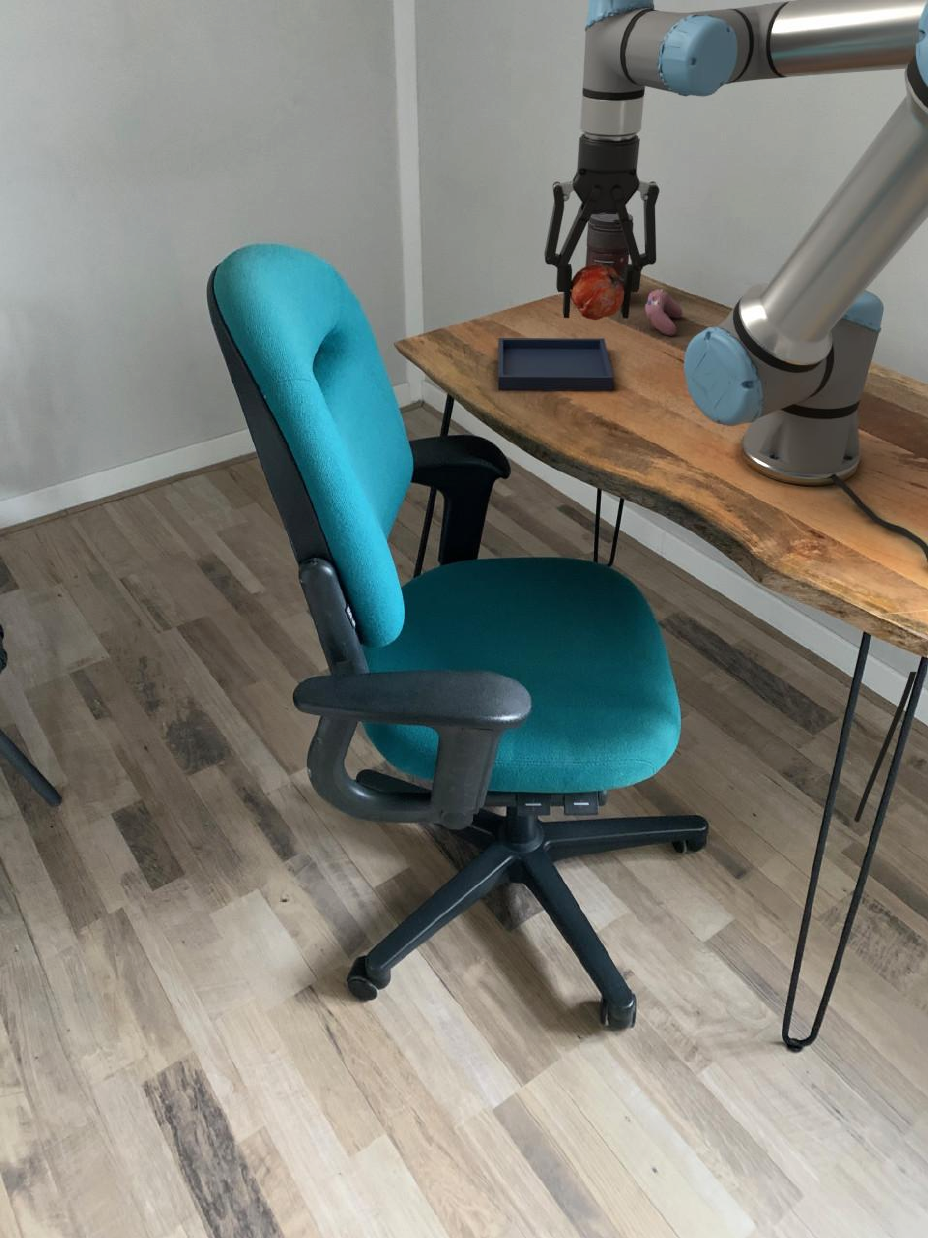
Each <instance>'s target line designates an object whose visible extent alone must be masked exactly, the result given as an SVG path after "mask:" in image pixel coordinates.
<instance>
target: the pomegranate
mask: <svg viewBox="0 0 928 1238" xmlns="http://www.w3.org/2000/svg"><path fill="white" fill-rule="evenodd" d="M620 281H625V280H624V279H623V278H622V277H621V276H619V275H618V273H617V272H616V271H615V270H614V269H613V268H610V267H604V266H602V265H600V264H591V265H587V266H586V265H585V266H583V267H582V268H580V269H579V270H578V271H576V273H575V274H574V276H572V283H571V299H570V300H571V301H572V302H573V304H574V306H573V309H576V308H577V310H578V311H579V312H580V315H581V316H582V317H583V318H585V319H587V320H592V321H598V320H600V319H601V320H602V319H604V318H606V317H607V318H608V317H610V316H614V315H615V314H616V313H617V312H618V311H619V310H621V306H622V304H623V302H624V294H625V292H624V287H623V285H622V284H621V282H620Z"/></svg>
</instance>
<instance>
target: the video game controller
mask: <svg viewBox="0 0 928 1238" xmlns="http://www.w3.org/2000/svg"><path fill="white" fill-rule="evenodd" d="M644 311H645V314H646V318H647V319H648V322H649V323H650V324H652V326H653V327H654V329H655V330H658V331H659V332H660V333H662V334H664V335H665V336H670V337H672V336H674V335H675V334H676V332H677V326H676V324H675V323H674V321H672V320H671V319H670V318H673V319H680V318H682V316H683V309H682V307H681V306H680V305H679V304H678V302H676V300H674V299H673V298H672V297H671V295H670V293H668V292H667V290H665V289H664V288H662V289H661V290H660V289H655V290H652V291H651V292H650V293H649V294H648V297H647V303H646V304H645V305H644ZM669 317H670V318H669Z"/></svg>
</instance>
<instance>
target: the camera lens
mask: <svg viewBox="0 0 928 1238" xmlns="http://www.w3.org/2000/svg"><path fill="white" fill-rule="evenodd" d="M628 216H629V219H630V223H631V226H632V230H633V231H634V225H635V223H634V216H633V215H632V214H630V213H628ZM585 255H586V256H585V266H587V265H591V264H600V265H602V266H604V267H610V268H613V269H614V270H615V271H616V272H617V273H618V275H619V276H621V277H622V278H623V279H624V273H625V264H630V255H629V251H628V248H627V245H626V241H625V238H624V234H623V231H622V228H621V224H620V221H619V217H618V214H617V213H616V214H608V213H601V214H592V215H591V217H590V219H589V221H588V222H587V232H586V254H585ZM620 282H621V284H622V285H623V284H624V281H620Z"/></svg>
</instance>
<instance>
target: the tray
mask: <svg viewBox="0 0 928 1238" xmlns="http://www.w3.org/2000/svg"><path fill="white" fill-rule="evenodd" d="M497 339H498V340H497V390H499V391H500V390H504V391H505V390H507V391H508V390H511V391H512V390H513V391H524V390H525V391H527V390H528V391H613V386H614V385H613V384H614V374H613V370H612V366H611V362H610V361H611V360H610V357H609V353H608V348H607V344H606V340H605V338H577V337H575V338H573V337H571V338H570V337H569V338H568V337H566V338H565V337H546V338H545V337H498V338H497Z"/></svg>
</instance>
